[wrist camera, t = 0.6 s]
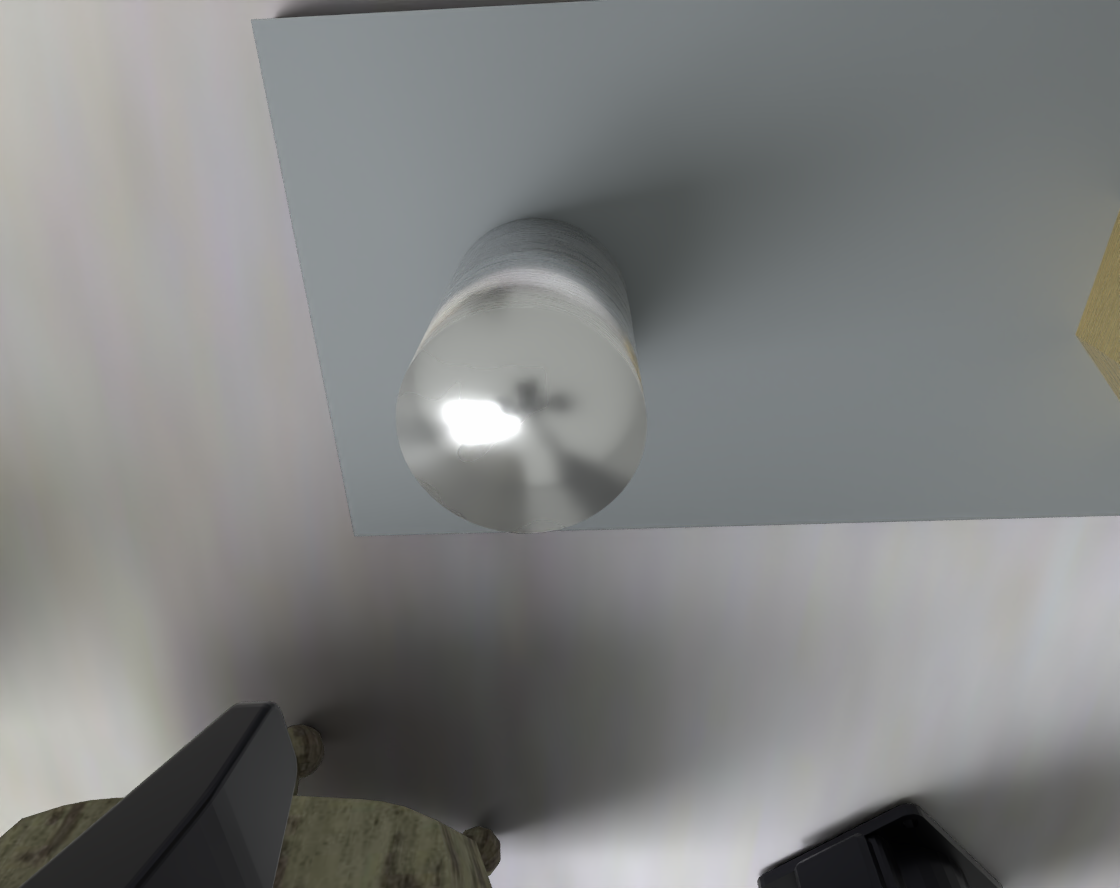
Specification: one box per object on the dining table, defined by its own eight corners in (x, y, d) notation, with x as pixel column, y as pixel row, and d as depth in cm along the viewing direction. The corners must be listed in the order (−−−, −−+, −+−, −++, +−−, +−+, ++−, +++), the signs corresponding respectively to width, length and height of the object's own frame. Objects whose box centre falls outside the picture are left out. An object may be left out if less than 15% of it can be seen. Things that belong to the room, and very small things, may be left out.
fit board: (1604, -55, 16) (2306, -102, 9) (1351, 483, 21) (1679, 685, 15) (271, 18, 17) (81, 23, 10) (365, 511, 22) (279, 710, 16)
